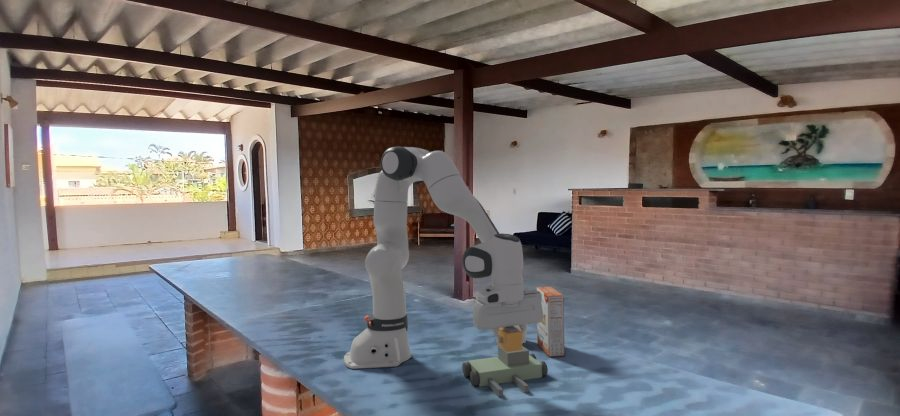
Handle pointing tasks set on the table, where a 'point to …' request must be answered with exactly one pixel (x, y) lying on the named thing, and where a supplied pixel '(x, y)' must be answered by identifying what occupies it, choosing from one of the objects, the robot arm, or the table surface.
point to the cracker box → (551, 322)
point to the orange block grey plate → (510, 339)
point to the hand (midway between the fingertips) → (509, 341)
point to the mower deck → (505, 370)
